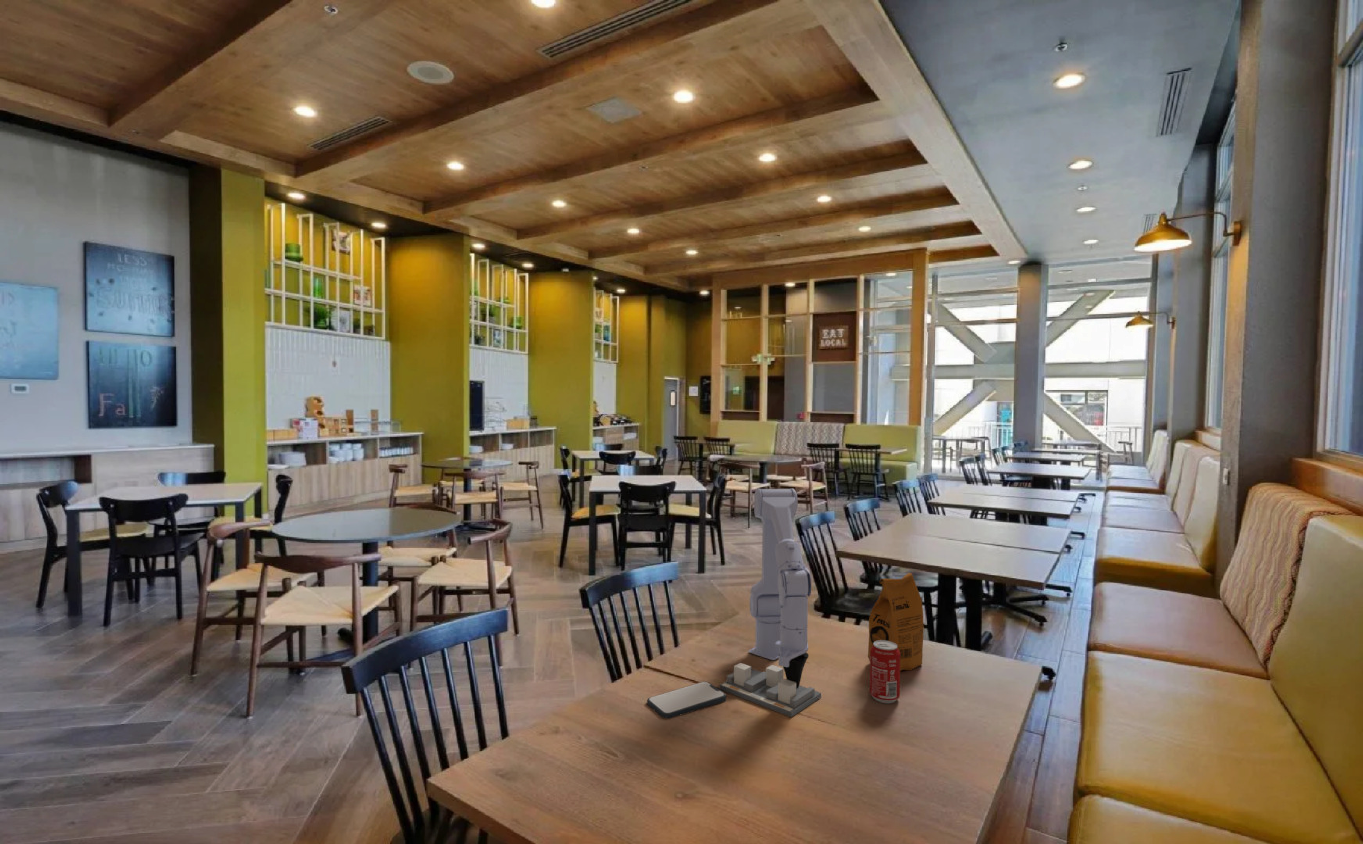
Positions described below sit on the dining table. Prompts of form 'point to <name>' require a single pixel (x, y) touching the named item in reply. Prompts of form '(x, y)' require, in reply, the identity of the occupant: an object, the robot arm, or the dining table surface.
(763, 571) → the robot arm
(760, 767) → the dining table surface
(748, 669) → the tab
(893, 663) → the beverage can
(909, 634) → the coffee package
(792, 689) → the tab
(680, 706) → the smartphone
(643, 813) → the dining table surface
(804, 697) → the switch board
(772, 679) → the white rectangular block
